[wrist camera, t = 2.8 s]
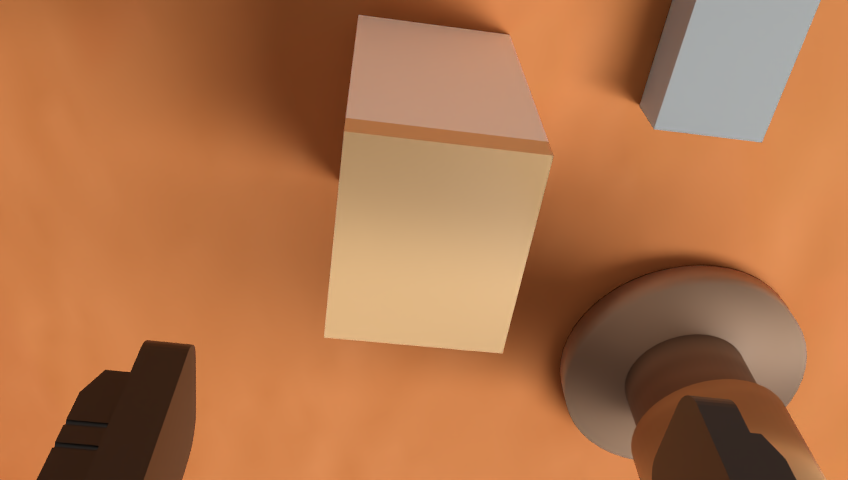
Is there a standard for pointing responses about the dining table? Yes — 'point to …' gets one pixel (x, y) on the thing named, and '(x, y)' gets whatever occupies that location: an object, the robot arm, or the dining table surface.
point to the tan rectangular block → (434, 188)
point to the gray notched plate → (724, 65)
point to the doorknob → (685, 361)
